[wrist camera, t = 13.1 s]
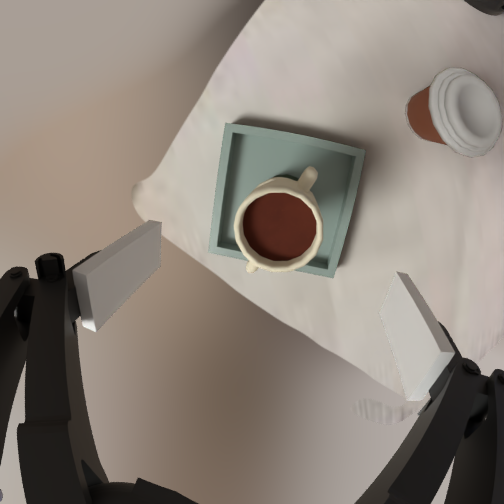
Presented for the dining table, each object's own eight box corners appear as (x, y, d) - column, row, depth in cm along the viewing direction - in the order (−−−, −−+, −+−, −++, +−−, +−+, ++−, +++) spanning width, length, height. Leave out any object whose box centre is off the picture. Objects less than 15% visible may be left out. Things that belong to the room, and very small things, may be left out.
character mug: (282, 145, 31) (275, 145, 19) (334, 178, 32) (356, 198, 20) (237, 220, 36) (207, 262, 24) (286, 250, 36) (279, 304, 24)
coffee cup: (436, 75, 25) (486, 57, 14) (463, 139, 27) (519, 144, 16) (383, 94, 27) (422, 74, 16) (413, 161, 30) (462, 172, 19)
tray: (230, 124, 32) (225, 122, 29) (360, 149, 31) (365, 150, 28) (213, 245, 38) (208, 252, 36) (331, 269, 37) (333, 278, 34)
